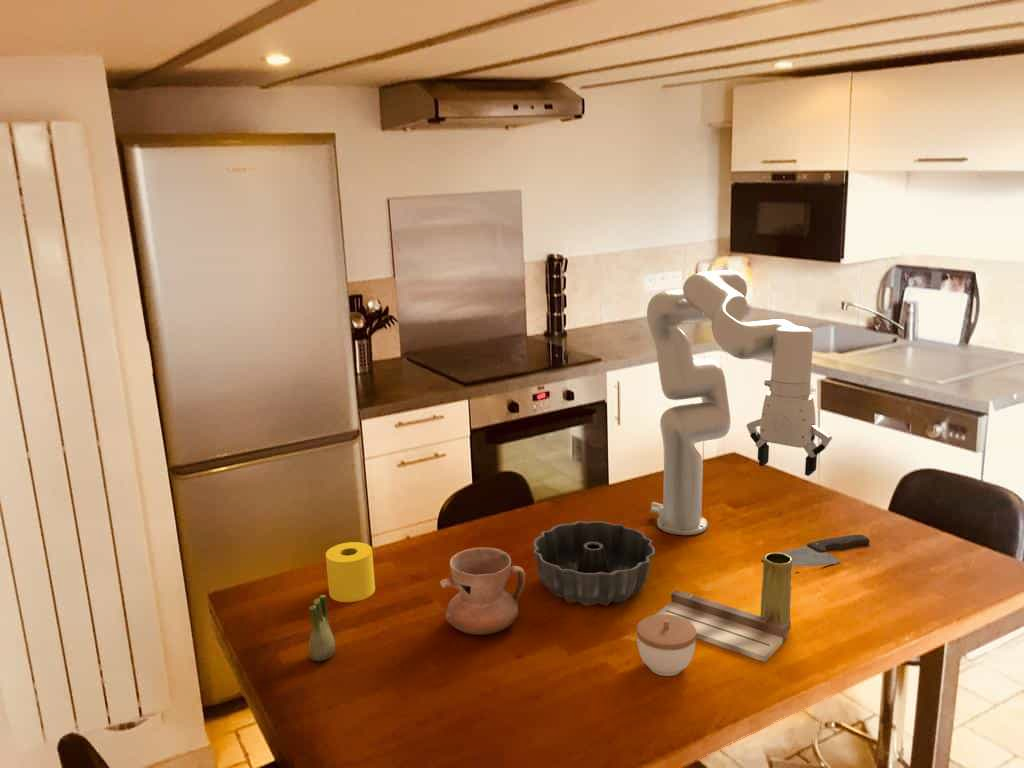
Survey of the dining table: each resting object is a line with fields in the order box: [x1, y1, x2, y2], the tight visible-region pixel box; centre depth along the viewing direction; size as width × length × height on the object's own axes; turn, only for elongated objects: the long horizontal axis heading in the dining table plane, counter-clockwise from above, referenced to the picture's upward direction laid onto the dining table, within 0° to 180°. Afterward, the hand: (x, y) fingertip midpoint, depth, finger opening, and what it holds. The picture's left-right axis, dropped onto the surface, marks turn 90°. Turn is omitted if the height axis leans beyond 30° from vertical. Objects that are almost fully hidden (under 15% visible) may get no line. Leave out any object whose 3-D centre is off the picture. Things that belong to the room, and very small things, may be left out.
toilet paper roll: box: [325, 541, 376, 603], centre depth 189 cm, size 10×10×9 cm
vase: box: [759, 552, 792, 630], centre depth 170 cm, size 6×6×14 cm
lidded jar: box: [636, 614, 697, 677], centre depth 157 cm, size 11×11×9 cm
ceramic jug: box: [439, 546, 526, 636], centre depth 174 cm, size 18×14×14 cm
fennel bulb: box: [308, 594, 336, 662], centre depth 164 cm, size 6×5×12 cm
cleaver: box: [761, 534, 870, 567], centre depth 200 cm, size 29×10×2 cm, turn 113°
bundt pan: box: [533, 520, 656, 607], centre depth 188 cm, size 26×26×10 cm
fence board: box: [654, 589, 788, 663], centre depth 170 cm, size 24×10×3 cm, turn 51°
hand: (786, 469), depth 176 cm, fingers open, 9 cm apart
